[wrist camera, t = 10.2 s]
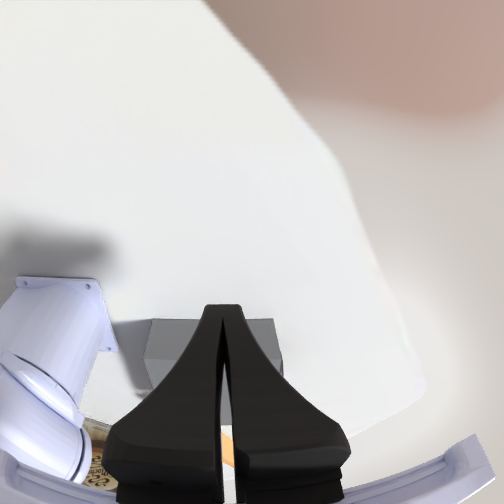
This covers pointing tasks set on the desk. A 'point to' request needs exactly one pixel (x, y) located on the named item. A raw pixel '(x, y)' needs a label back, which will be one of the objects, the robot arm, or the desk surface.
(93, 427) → the coffee box
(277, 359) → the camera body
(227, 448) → the side door
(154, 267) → the desk surface
